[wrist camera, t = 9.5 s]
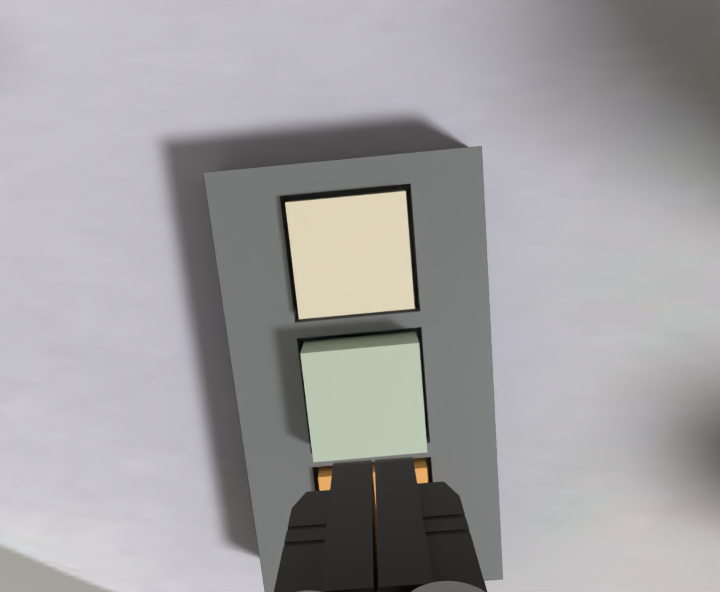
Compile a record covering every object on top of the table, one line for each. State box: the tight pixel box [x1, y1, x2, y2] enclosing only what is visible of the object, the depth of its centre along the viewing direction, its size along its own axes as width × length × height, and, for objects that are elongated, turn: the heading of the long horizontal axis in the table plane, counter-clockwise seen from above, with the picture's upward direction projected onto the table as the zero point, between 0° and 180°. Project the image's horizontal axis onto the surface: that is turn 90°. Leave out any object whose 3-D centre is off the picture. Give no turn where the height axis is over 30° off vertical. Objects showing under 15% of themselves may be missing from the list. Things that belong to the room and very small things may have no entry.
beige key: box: [285, 189, 415, 319], centre depth 29 cm, size 6×6×2 cm
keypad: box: [204, 146, 503, 592], centre depth 32 cm, size 23×13×3 cm, turn 5°
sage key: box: [300, 331, 427, 462], centre depth 30 cm, size 6×6×2 cm
